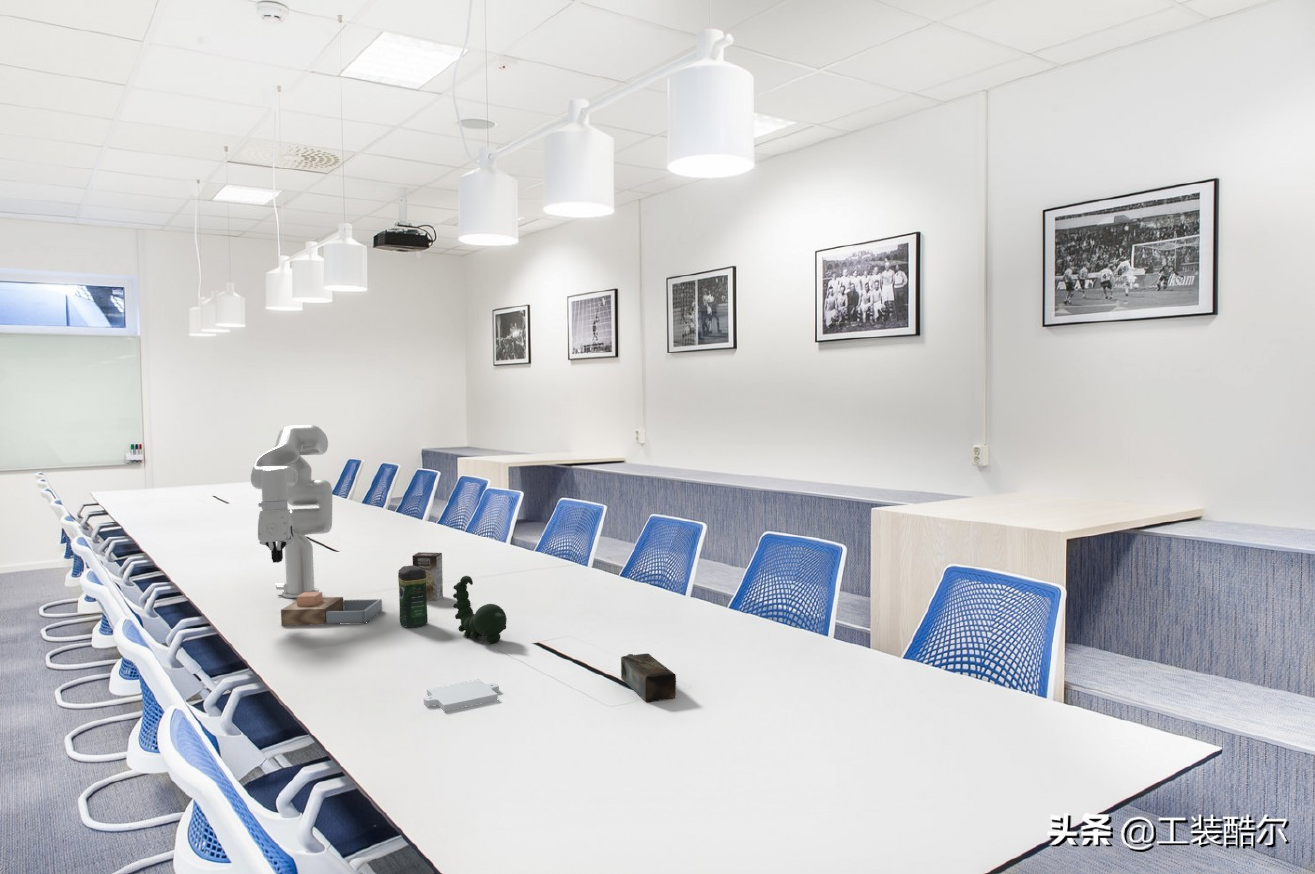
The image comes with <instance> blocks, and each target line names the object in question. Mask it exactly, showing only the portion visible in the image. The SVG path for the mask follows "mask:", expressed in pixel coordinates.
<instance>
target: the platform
mask: <svg viewBox="0 0 1315 874" xmlns="http://www.w3.org/2000/svg"><path fill="white" fill-rule="evenodd" d="M322 599H323V601H322V602H320V603H318V604H317V605H311V606H297V600H295V601H294V602H292V603H290V604H289V605H286V606H285V607H283V608H281V609H280V622H281V626H303V625H304V626H309V625H310V624H324V625H326V624H325V623H326V622H327V618H326V612H327V611H343V610H344V596H331V597H325V596H324V597H323V596H322ZM310 626H311V625H310Z"/></svg>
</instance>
